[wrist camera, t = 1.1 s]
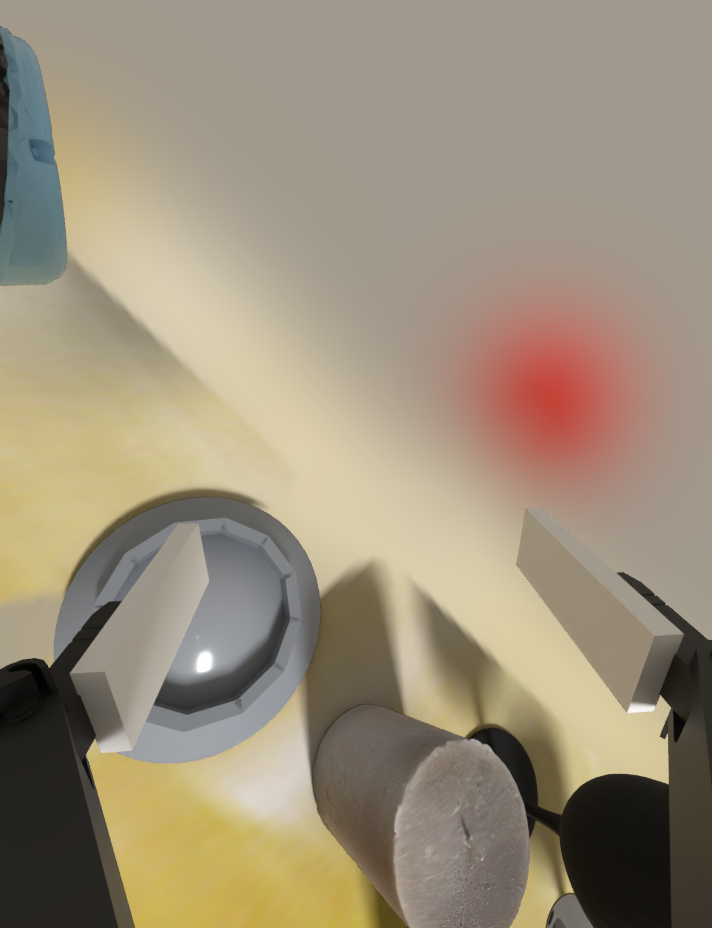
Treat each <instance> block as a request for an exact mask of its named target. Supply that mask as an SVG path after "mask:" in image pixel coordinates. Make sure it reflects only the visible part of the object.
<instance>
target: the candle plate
mask: <svg viewBox="0 0 712 928" xmlns="http://www.w3.org/2000/svg"><path fill="white" fill-rule="evenodd" d="M190 523H198V525H199V530H200V535H201V540H202V545H203V551H204V556H205V561H206V566H207V572H208V577H209V583H208V585H207V587H206V589H205V591H204V594H203V596H202V598H201V600H200V602H199V605H198V607H197V609H196V611H195V613H194V616H193V618H192V620H191V622H190V625H189V627H188V629H187V631H186V633H185V636H184V638H183V640H182V642H181V644H180V647H179V649H178V651H177V653H176V655H175V658H174V660H173V662H172V664H171V666H170V669H169V671H168V673H167V675H166V677H165V680H164V682H163V684H162V686H161V688H160V691H159V693H158V695H157V697H156V699H155V702H154V704H153V706H152V708H151V711H150V713H149V715H148V717H147V719H146V722H145V724H144V726H143V728H142V730H141V733H140V735H139V737H138V739H137V741H136V744H135V746H134V748H133V750H132V751H120V752H117V753H118V754H121V755H124V756H127V757H130V758H133V759H136V760H140V761H146V762H152V763H183V762H190V761H196V760H200V759H203V758H207V757H210V756H214V755H216V754H219V753H221V752H223V751H226V750H228V749H230V748H233V747H234V746H236V745H238V744H239V743H241V742H243V741H245V740H246V739H248V738H250V737H251V736H252V735H254V734H255V733H256V732H258V731H259V730H260V729H261V728H263V727H264V726H265V725H266V724H267V723H268V722H269V721H271V720H272V719H273V718H274V717H275V716H276V715H277V714H278V713H279V712H280V710H281V709H282V708H283V707H284V706H285V704H286V703H287V702H288V701H289V700H290V698H291V697H292V695H293V694H294V692H295V691H296V689H297V688H298V686H299V685H300V683H301V681H302V679H303V677H304V675H305V673H306V671H307V669H308V667H309V664H310V661H311V659H312V656H313V654H314V650H315V646H316V642H317V638H318V633H319V625H320V596H319V590H318V584H317V579H316V576H315V573H314V570H313V567H312V564H311V562H310V560H309V558H308V556H307V554H306V552H305V550H304V549H303V548H302V546H301V544H300V543H299V541H298V540H297V539H296V538H295V537H294V535H293V534H292V533H291V532H290V531H289V530H288V529H287V528H286V527H285V526H284V525H283V524H282V523H281V522H279V521H278V520H277V519H275V518H274V517H272V516H271V515H269V514H268V513H266V512H264V511H262V510H260V509H258V508H256V507H254V506H251V505H249V504H246V503H243V502H240V501H235V500H231V499H225V498H216V497H197V498H189V499H182V500H178V501H174V502H170V503H166V504H163V505H160V506H158V507H155V508H152V509H150V510H148V511H146V512H144V513H142V514H140V515H138V516H136V517H134V518H132V519H131V520H129V521H128V522H126V523H125V524H123V525H122V526H120V527H119V528H117V529H116V530H115V531H114V532H113V533H111V534H110V535H109V536H108V537H107V538H105V539H104V540H103V541H102V542H101V543H100V545H99V546H98V547H97V548H96V549H95V550H94V551H93V552H92V553H91V554H90V555H89V557H88V558H87V559H86V561H85V562H84V563H83V565H82V566H81V567H80V569H79V570H78V572H77V574H76V576H75V577H74V579H73V581H72V583H71V584H70V586H69V588H68V591H67V593H66V595H65V598H64V600H63V603H62V605H61V609H60V613H59V616H58V620H57V624H56V631H55V640H54V662H55V660H56V659H57V658H58V657H59V655H60V654H61V653H62V652H63V650H64V649H65V648H66V647H67V645H68V644H69V643H71V642H72V639H73V638H74V637H75V635H76V634H77V633H78V631H81V628H82V626H83V625H84V624H85V623H86V621H87V620H88V619H89V618H90V616H91V615H92V614H93V613H94V612H96V611H97V610H98V609H100V608H101V607H102V606H104V605H105V604H106V603H108V602H110V601H123V599H124V598H125V597H126V595H127V594H128V592H129V591H130V590H131V588H132V587H133V586H134V584H135V583H136V581H137V580H138V579H139V577H140V576H141V575H142V573H143V572H144V570H145V569H146V568H147V566H148V565H149V564H150V562H151V561H152V559H153V558H154V557H155V555H156V554H157V553H158V551H159V550H160V548H161V547H162V546H163V544H164V543H165V541H166V540H167V539H168V537H169V536H170V535H171V533H172V532H173V530H174V529H175V528H176V526H177V525H178V524H190Z"/></svg>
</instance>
